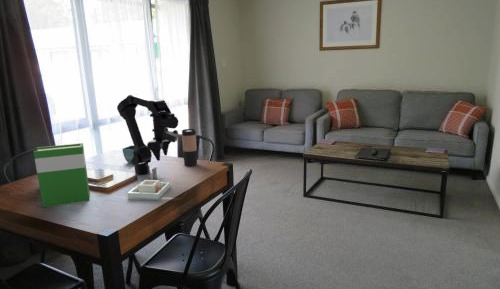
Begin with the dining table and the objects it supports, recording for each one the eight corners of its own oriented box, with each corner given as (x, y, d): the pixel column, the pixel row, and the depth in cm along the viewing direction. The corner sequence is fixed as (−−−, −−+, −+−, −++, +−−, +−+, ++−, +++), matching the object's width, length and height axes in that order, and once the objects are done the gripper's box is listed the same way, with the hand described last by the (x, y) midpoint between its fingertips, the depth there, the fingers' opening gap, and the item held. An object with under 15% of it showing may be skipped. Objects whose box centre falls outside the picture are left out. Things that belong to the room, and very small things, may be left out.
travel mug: (181, 165, 201) (179, 131, 196) (188, 162, 208) (186, 128, 203) (193, 167, 198) (191, 132, 193) (200, 163, 205) (198, 129, 200)
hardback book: (43, 207, 148) (33, 151, 142) (45, 200, 155) (36, 147, 149) (89, 200, 154) (81, 146, 149) (89, 194, 161) (82, 143, 155)
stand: (141, 186, 170) (140, 172, 169) (150, 179, 180) (149, 165, 178) (161, 186, 169) (160, 172, 167) (169, 179, 178) (168, 166, 177)
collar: (157, 195, 156) (156, 185, 155) (139, 194, 157) (138, 185, 156) (163, 189, 163) (162, 180, 162) (145, 189, 164) (144, 179, 163)
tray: (128, 199, 155) (127, 192, 154) (142, 187, 168) (141, 181, 168) (158, 200, 153) (158, 194, 152) (170, 188, 166) (170, 182, 166)
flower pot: (145, 160, 213) (143, 146, 210) (136, 164, 205) (134, 149, 202) (132, 159, 215) (131, 145, 213) (123, 163, 207) (121, 148, 205)
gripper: (168, 130, 160) (171, 163, 164) (182, 122, 178) (184, 153, 182) (145, 130, 162) (148, 163, 165) (160, 122, 180) (163, 152, 183)
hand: (162, 157), depth 174 cm, fingers open, 9 cm apart
